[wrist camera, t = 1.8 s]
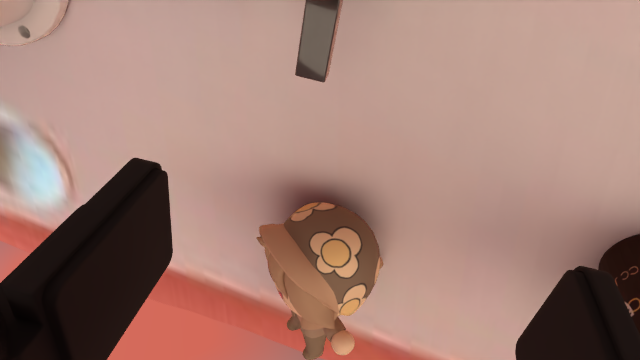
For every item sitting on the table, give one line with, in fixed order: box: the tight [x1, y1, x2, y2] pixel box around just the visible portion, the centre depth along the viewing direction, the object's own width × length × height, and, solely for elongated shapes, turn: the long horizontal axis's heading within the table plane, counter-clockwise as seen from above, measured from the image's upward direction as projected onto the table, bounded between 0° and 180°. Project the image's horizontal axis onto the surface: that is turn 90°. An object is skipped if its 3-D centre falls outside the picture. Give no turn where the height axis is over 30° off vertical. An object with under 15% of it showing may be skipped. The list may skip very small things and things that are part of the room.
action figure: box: [257, 203, 383, 360], centre depth 36 cm, size 10×11×15 cm
